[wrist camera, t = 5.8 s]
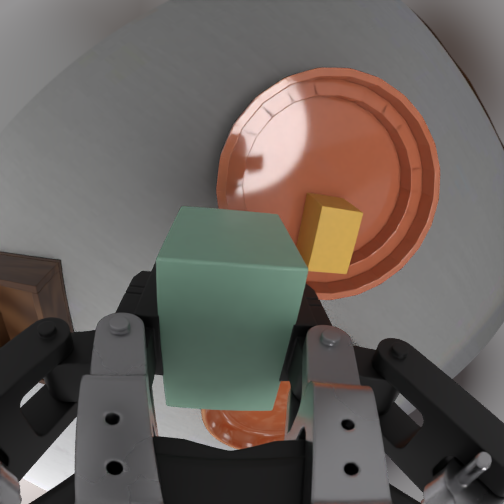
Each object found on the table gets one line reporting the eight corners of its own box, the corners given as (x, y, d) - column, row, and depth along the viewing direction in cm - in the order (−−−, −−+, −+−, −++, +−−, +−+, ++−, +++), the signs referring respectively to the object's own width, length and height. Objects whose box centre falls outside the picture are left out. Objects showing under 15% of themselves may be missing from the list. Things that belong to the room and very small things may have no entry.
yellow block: (306, 192, 26) (322, 205, 22) (343, 198, 27) (363, 212, 23) (295, 249, 28) (307, 271, 24) (330, 252, 29) (346, 274, 25)
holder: (-16, 249, 25) (-42, 269, 20) (60, 260, 27) (35, 286, 22) (10, 342, 31) (-6, 366, 26) (81, 360, 33) (68, 391, 28)
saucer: (191, 335, 32) (189, 357, 29) (384, 320, 34) (397, 338, 31) (210, 438, 41) (210, 457, 38) (347, 424, 43) (353, 441, 40)
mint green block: (181, 205, 11) (155, 257, 7) (278, 213, 11) (310, 268, 7) (178, 327, 13) (165, 406, 9) (259, 331, 13) (272, 411, 9)
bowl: (234, 57, 21) (236, 44, 17) (428, 109, 24) (456, 110, 20) (208, 267, 29) (206, 291, 25) (385, 281, 32) (404, 302, 27)
